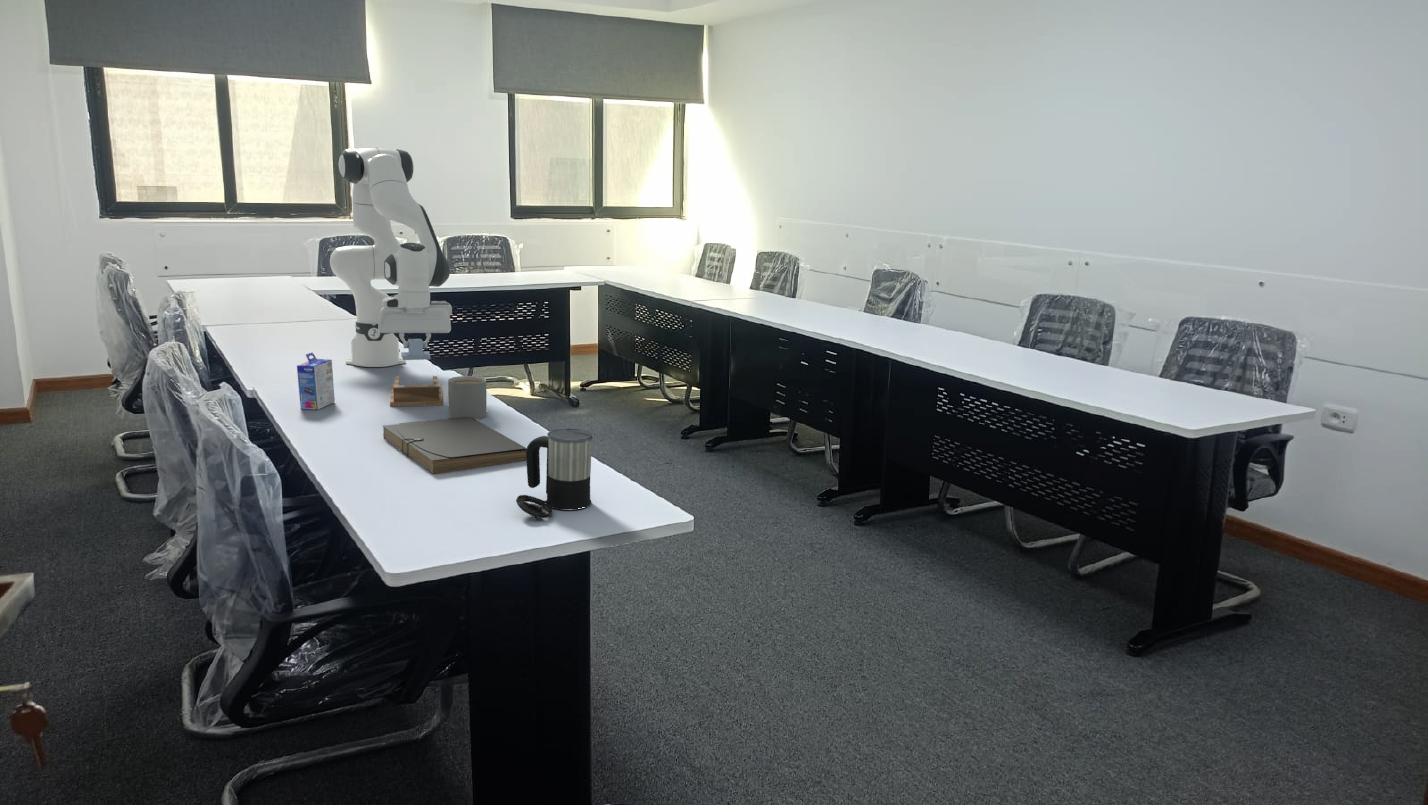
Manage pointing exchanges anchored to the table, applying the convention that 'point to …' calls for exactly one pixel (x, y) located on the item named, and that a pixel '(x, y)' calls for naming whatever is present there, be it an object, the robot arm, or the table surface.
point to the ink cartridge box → (315, 383)
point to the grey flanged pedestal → (415, 351)
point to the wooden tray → (416, 394)
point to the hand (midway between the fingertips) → (415, 348)
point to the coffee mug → (467, 397)
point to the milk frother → (559, 471)
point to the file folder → (453, 444)
